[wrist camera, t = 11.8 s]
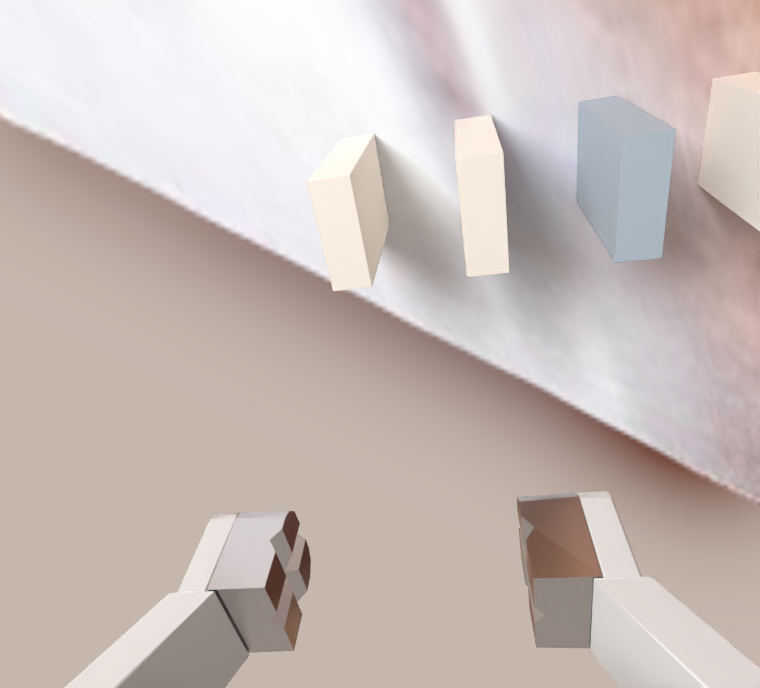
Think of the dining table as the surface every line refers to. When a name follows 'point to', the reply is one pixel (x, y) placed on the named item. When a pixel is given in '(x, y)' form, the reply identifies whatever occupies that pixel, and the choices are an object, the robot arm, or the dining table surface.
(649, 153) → the domino
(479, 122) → the domino
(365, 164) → the domino
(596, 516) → the robot arm
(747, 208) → the domino
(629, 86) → the dining table surface
